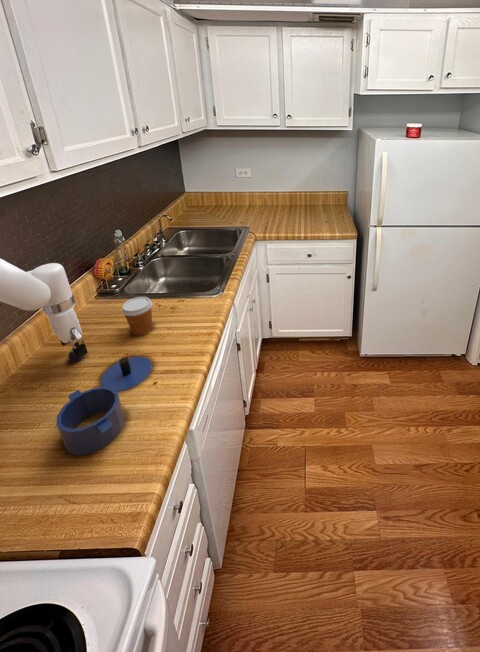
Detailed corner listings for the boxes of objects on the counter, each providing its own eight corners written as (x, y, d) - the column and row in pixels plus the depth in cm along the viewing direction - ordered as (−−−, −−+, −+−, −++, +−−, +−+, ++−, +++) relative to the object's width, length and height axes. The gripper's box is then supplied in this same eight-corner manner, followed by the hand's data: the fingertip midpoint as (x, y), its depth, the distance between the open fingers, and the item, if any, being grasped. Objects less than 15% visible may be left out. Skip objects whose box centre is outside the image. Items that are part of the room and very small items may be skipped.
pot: (85, 475, 74) (76, 449, 71) (52, 432, 83) (43, 407, 80) (140, 431, 84) (134, 407, 81) (105, 398, 93) (98, 374, 90)
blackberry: (73, 367, 104) (69, 355, 102) (69, 362, 105) (65, 350, 104) (85, 360, 106) (82, 348, 105) (80, 356, 108) (77, 344, 106)
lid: (116, 402, 92) (111, 385, 90) (92, 380, 99) (87, 364, 97) (161, 371, 102) (158, 355, 100) (137, 353, 109) (133, 338, 107)
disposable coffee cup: (122, 335, 118) (114, 307, 113) (145, 320, 126) (139, 293, 121) (140, 343, 114) (133, 314, 109) (163, 327, 122) (157, 300, 117)
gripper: (32, 300, 100) (49, 345, 106) (56, 320, 91) (73, 368, 97) (61, 289, 105) (75, 332, 112) (86, 307, 96) (100, 353, 103)
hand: (74, 349), depth 104 cm, fingers open, 9 cm apart
